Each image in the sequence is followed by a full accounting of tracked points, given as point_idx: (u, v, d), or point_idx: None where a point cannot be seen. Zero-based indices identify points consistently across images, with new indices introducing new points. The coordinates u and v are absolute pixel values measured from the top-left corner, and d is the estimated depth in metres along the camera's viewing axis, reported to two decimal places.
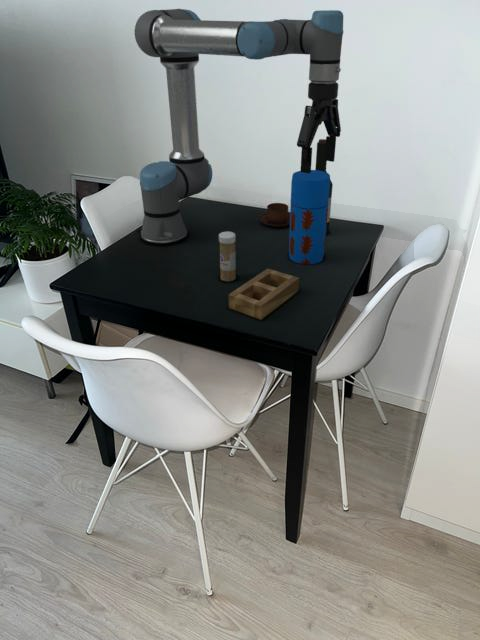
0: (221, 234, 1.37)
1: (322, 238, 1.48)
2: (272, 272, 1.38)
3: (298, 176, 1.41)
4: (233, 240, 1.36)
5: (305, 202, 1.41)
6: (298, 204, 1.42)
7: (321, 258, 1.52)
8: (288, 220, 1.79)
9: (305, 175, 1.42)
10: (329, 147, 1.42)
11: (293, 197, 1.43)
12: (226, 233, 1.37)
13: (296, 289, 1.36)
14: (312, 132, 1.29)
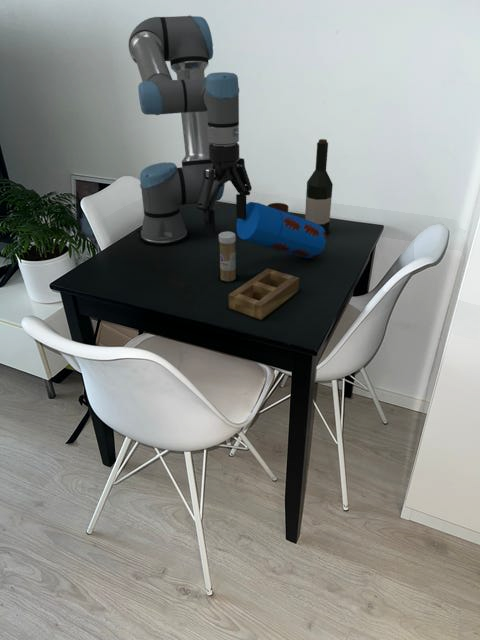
0: (221, 234, 1.37)
1: (306, 238, 1.44)
2: (272, 272, 1.38)
3: (240, 231, 1.41)
4: (233, 240, 1.36)
5: (264, 244, 1.41)
6: (262, 245, 1.43)
7: (323, 241, 1.48)
8: None
9: (244, 224, 1.40)
10: (240, 205, 1.38)
11: None
12: (226, 233, 1.37)
13: (296, 289, 1.36)
14: (213, 194, 1.25)
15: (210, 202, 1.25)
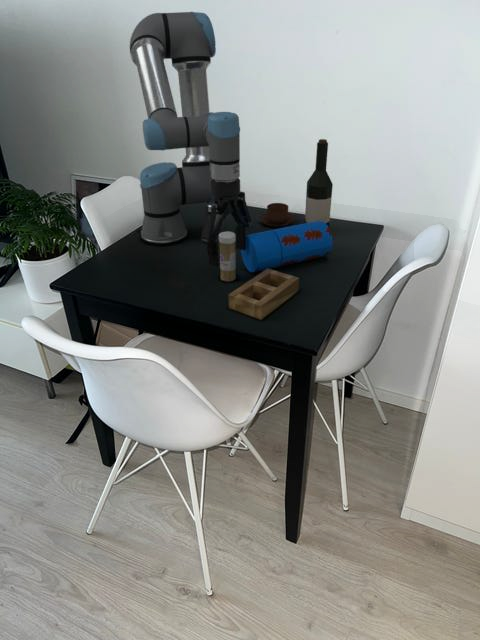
0: (221, 234, 1.37)
1: (311, 244, 1.46)
2: (272, 272, 1.38)
3: (247, 264, 1.47)
4: (233, 240, 1.36)
5: (272, 267, 1.46)
6: None
7: (329, 238, 1.49)
8: (288, 220, 1.79)
9: (247, 258, 1.46)
10: (239, 237, 1.42)
11: None
12: (226, 233, 1.37)
13: (296, 289, 1.36)
14: (216, 228, 1.30)
15: (213, 236, 1.31)
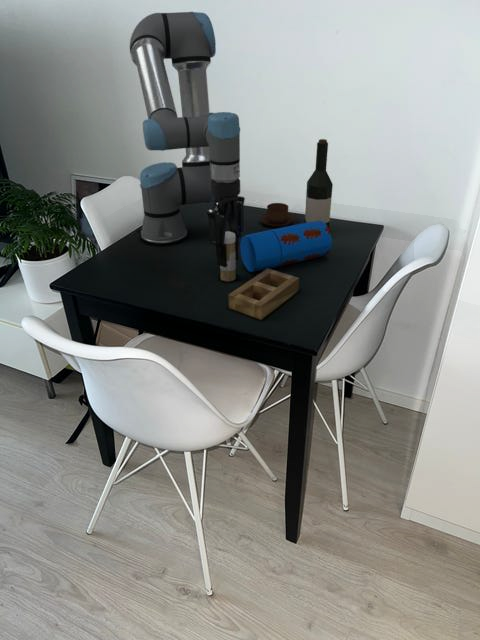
0: None
1: (310, 243, 1.46)
2: (272, 272, 1.38)
3: (246, 264, 1.47)
4: (233, 240, 1.36)
5: (272, 267, 1.46)
6: None
7: (329, 236, 1.49)
8: (288, 220, 1.79)
9: (247, 258, 1.46)
10: None
11: None
12: (226, 233, 1.37)
13: (296, 289, 1.36)
14: (221, 230, 1.33)
15: (221, 238, 1.33)
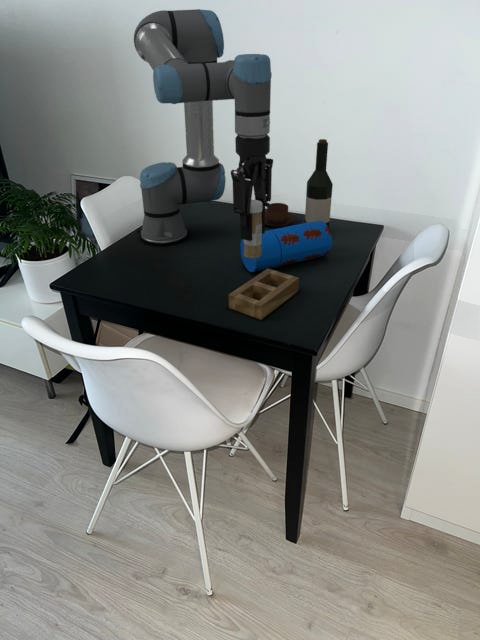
0: None
1: (310, 243, 1.46)
2: (272, 272, 1.38)
3: (246, 264, 1.47)
4: (260, 209, 1.17)
5: (272, 267, 1.46)
6: None
7: (329, 237, 1.49)
8: (288, 220, 1.79)
9: (247, 258, 1.46)
10: None
11: None
12: (251, 201, 1.18)
13: (296, 289, 1.36)
14: (247, 197, 1.14)
15: (246, 206, 1.14)
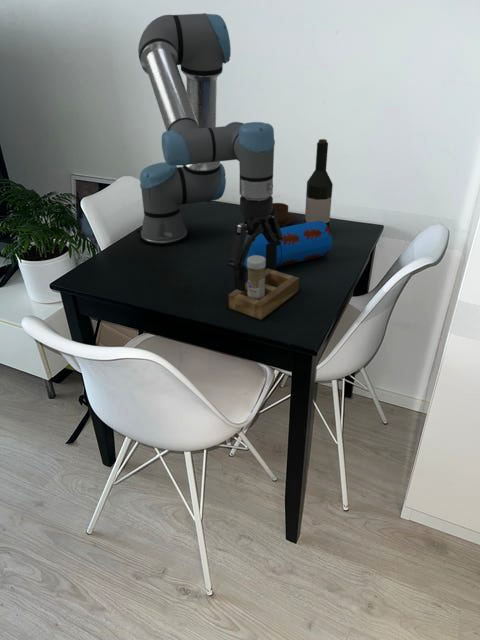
0: (250, 258, 1.24)
1: (310, 243, 1.46)
2: (272, 272, 1.38)
3: (246, 264, 1.47)
4: (263, 265, 1.23)
5: None
6: None
7: (329, 237, 1.49)
8: (288, 220, 1.79)
9: (247, 258, 1.46)
10: (270, 256, 1.29)
11: None
12: (255, 257, 1.24)
13: (296, 289, 1.36)
14: (244, 250, 1.17)
15: (241, 258, 1.17)
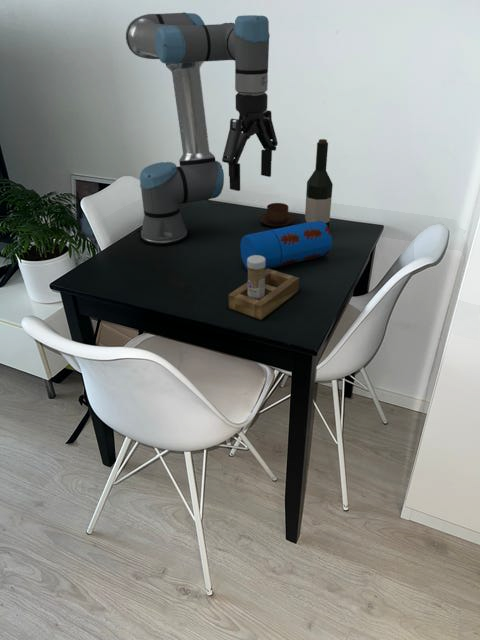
0: (250, 258, 1.24)
1: (310, 243, 1.46)
2: (272, 272, 1.38)
3: (246, 264, 1.47)
4: (263, 265, 1.23)
5: (272, 267, 1.46)
6: None
7: (329, 237, 1.49)
8: (288, 220, 1.79)
9: (247, 258, 1.46)
10: (265, 162, 1.32)
11: None
12: (255, 257, 1.24)
13: (296, 289, 1.36)
14: (239, 147, 1.20)
15: (236, 155, 1.20)
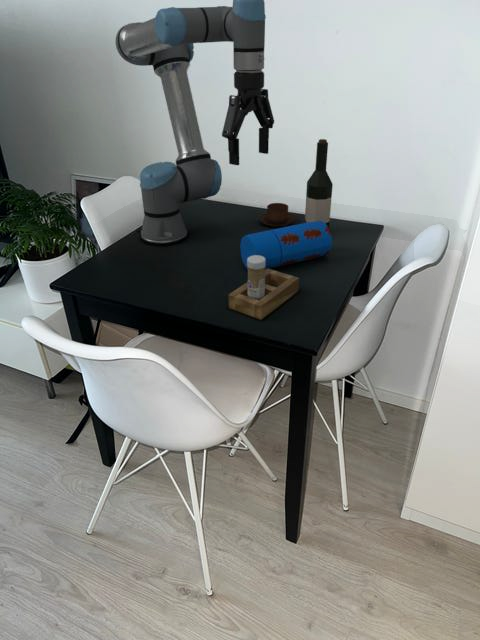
0: (250, 258, 1.24)
1: (310, 243, 1.46)
2: (272, 272, 1.38)
3: (246, 264, 1.47)
4: (263, 265, 1.23)
5: (272, 267, 1.46)
6: None
7: (329, 237, 1.49)
8: (288, 220, 1.79)
9: (247, 258, 1.46)
10: (262, 139, 1.39)
11: None
12: (255, 257, 1.24)
13: (296, 289, 1.36)
14: (238, 123, 1.26)
15: (235, 130, 1.26)
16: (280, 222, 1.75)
